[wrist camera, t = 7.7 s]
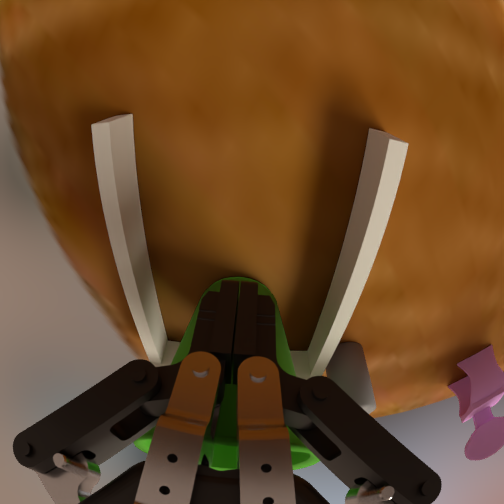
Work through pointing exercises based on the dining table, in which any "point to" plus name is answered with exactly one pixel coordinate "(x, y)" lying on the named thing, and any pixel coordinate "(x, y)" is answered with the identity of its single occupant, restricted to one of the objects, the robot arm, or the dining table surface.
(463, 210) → the dining table surface
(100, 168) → the bay
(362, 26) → the dining table surface
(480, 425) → the toy chair
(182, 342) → the cup
